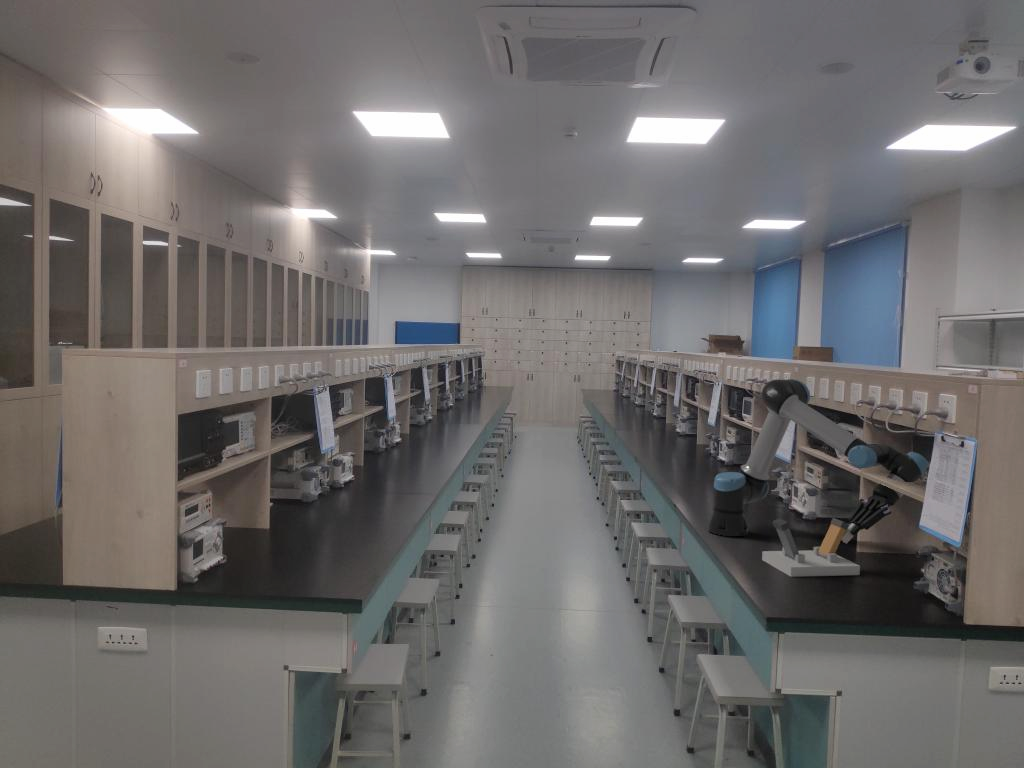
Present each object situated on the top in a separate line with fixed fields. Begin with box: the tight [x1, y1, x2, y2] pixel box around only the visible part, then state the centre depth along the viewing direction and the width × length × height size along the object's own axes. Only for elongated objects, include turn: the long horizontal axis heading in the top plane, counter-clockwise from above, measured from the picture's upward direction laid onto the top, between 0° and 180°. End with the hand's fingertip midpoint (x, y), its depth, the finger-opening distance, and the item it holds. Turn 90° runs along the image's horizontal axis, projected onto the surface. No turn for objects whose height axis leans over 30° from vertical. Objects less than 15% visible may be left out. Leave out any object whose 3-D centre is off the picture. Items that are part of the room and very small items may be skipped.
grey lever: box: [772, 517, 799, 559], centre depth 212 cm, size 5×3×13 cm, turn 8°
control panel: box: [761, 546, 861, 578], centre depth 214 cm, size 17×24×6 cm
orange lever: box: [818, 517, 850, 558], centre depth 215 cm, size 5×3×13 cm, turn 8°
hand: (842, 540), depth 215 cm, fingers closed
